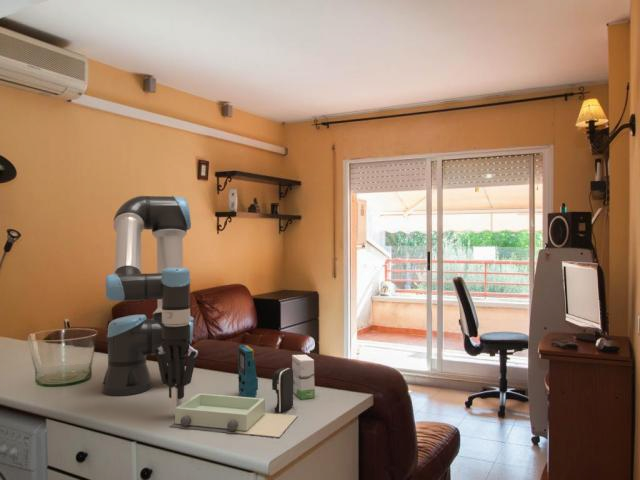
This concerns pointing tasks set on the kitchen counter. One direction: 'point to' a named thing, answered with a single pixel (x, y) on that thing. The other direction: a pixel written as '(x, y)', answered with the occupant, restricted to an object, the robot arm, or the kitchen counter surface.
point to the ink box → (303, 376)
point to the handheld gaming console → (247, 372)
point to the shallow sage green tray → (220, 411)
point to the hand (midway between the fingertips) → (176, 410)
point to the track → (255, 426)
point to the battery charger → (283, 388)
